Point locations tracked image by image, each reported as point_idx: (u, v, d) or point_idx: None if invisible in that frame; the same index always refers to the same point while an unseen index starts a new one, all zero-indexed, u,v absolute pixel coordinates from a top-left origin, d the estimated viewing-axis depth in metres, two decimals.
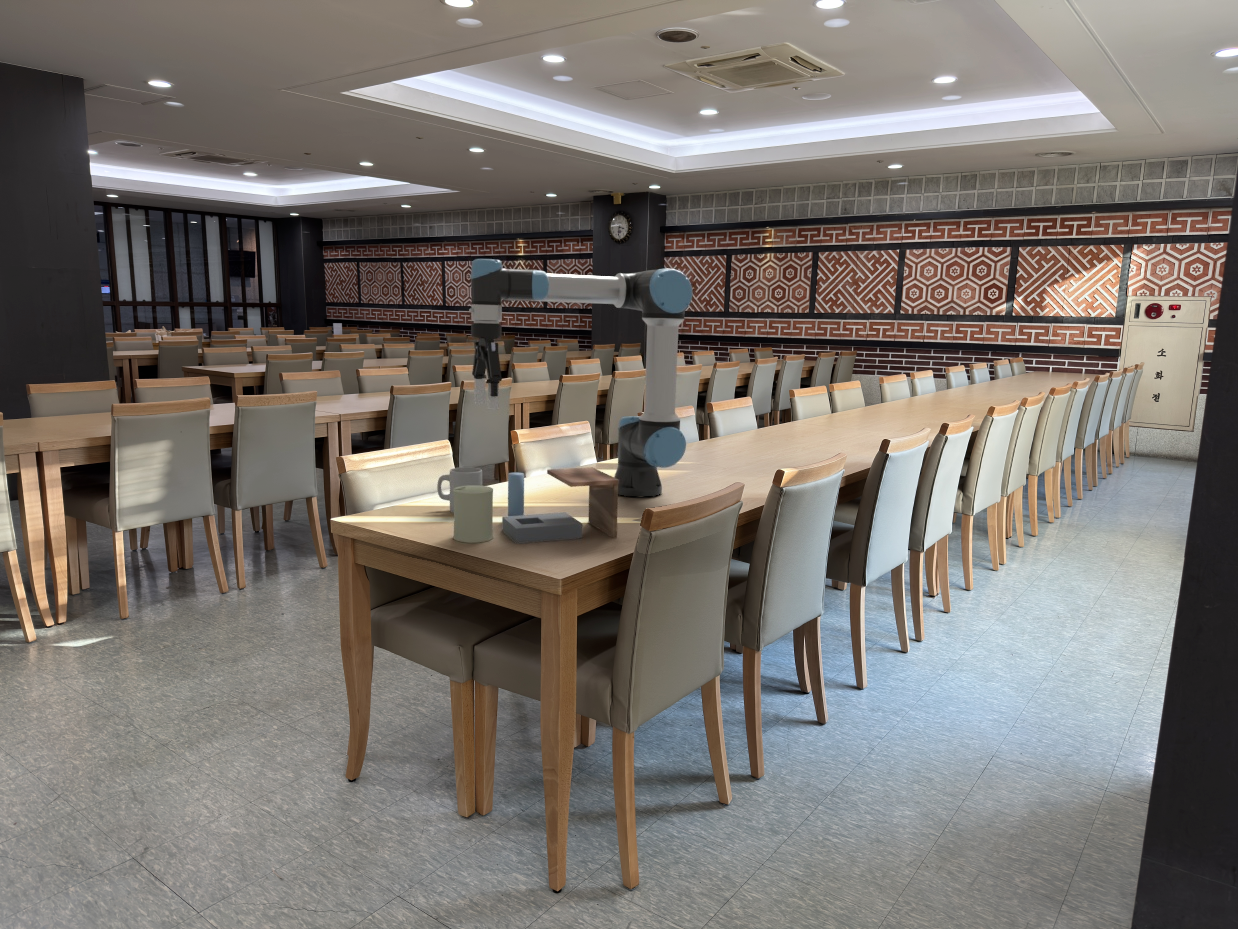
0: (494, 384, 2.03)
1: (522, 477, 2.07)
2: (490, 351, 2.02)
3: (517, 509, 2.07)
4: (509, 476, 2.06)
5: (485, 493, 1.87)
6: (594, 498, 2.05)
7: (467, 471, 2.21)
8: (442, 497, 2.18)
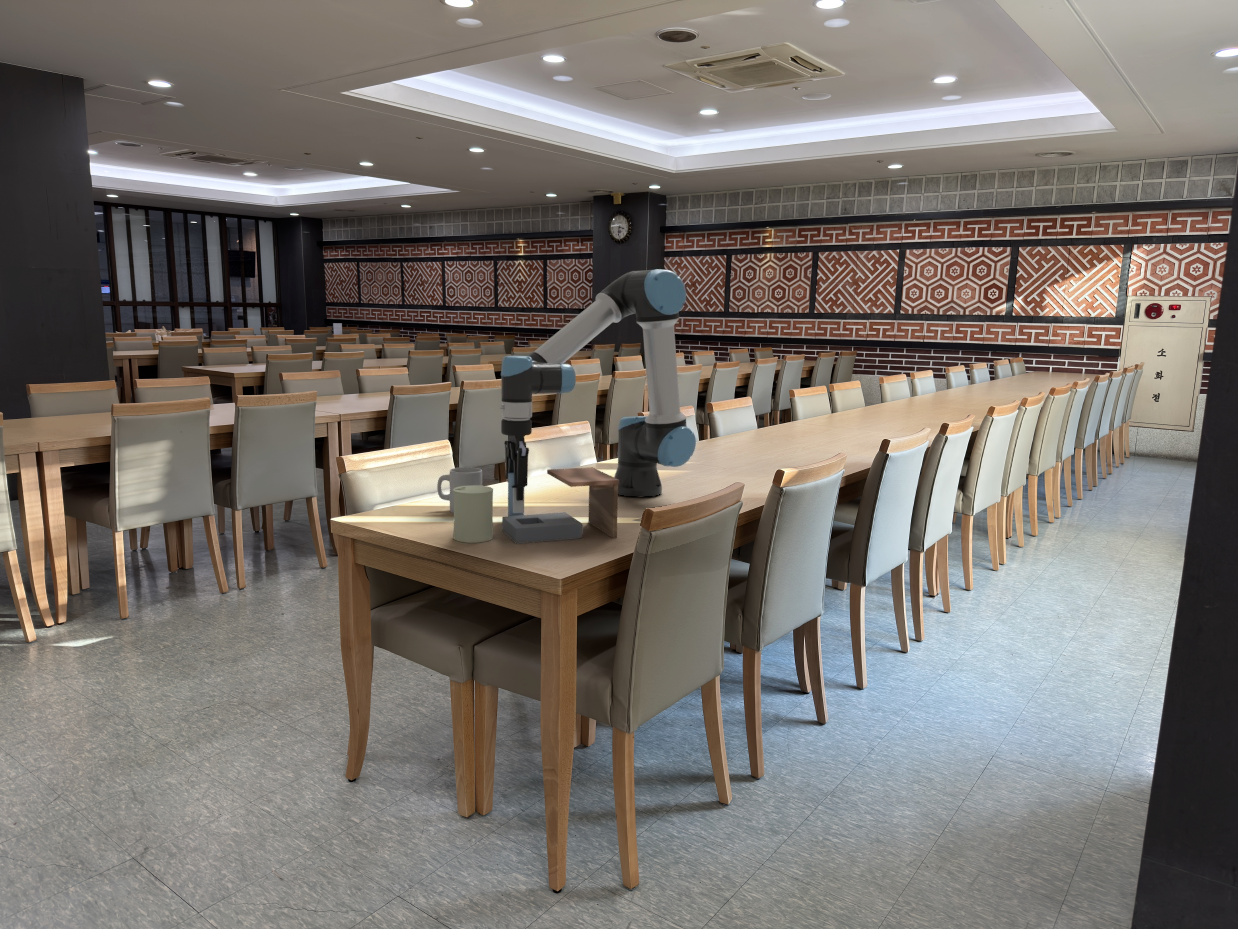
0: (520, 489, 2.05)
1: None
2: (520, 457, 2.01)
3: None
4: (509, 476, 2.06)
5: (485, 493, 1.87)
6: (594, 498, 2.05)
7: (467, 471, 2.21)
8: (442, 497, 2.18)
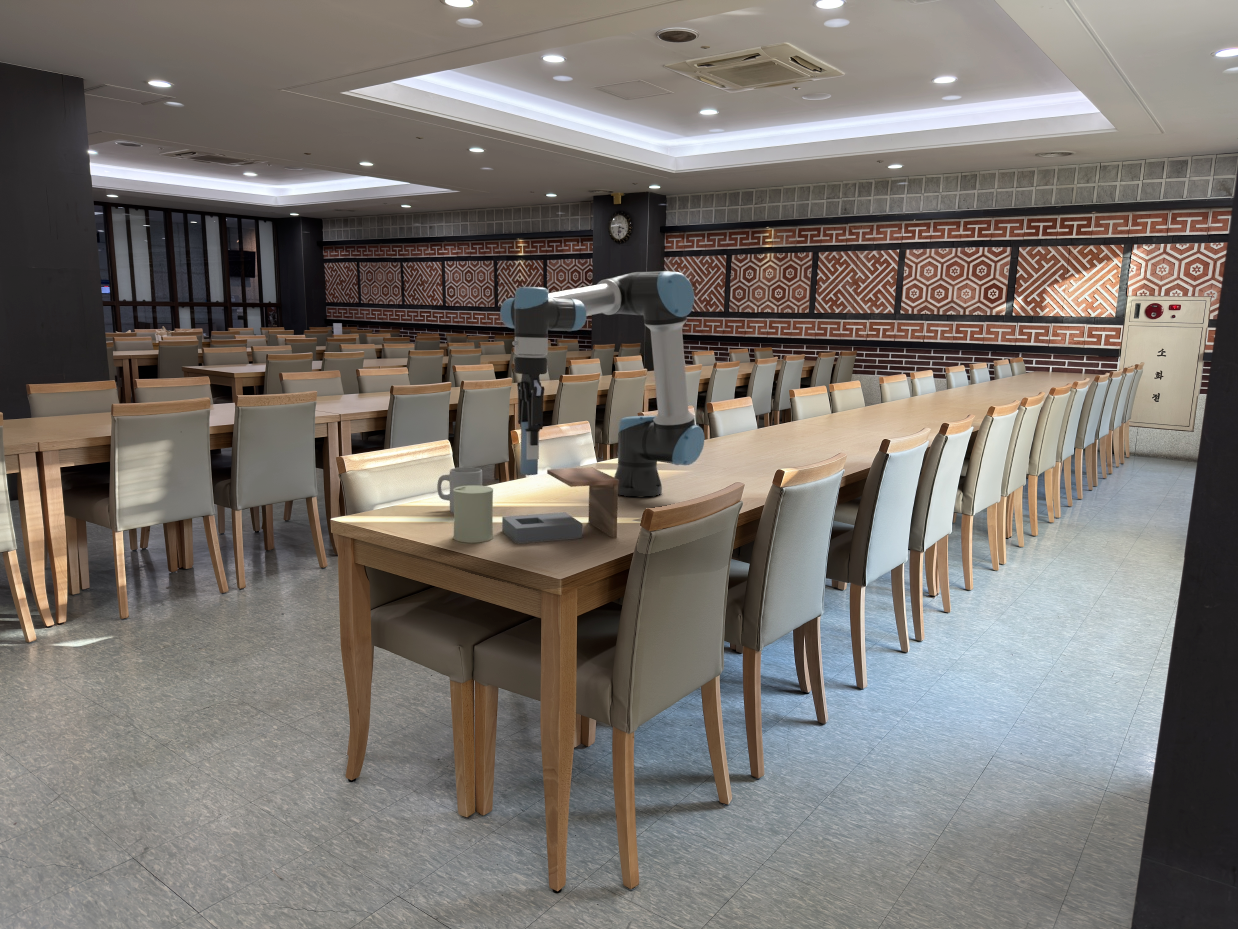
0: (534, 432, 1.88)
1: None
2: (534, 396, 1.84)
3: (530, 460, 1.91)
4: (522, 424, 1.90)
5: (485, 493, 1.87)
6: (594, 498, 2.05)
7: (467, 471, 2.21)
8: (442, 497, 2.18)
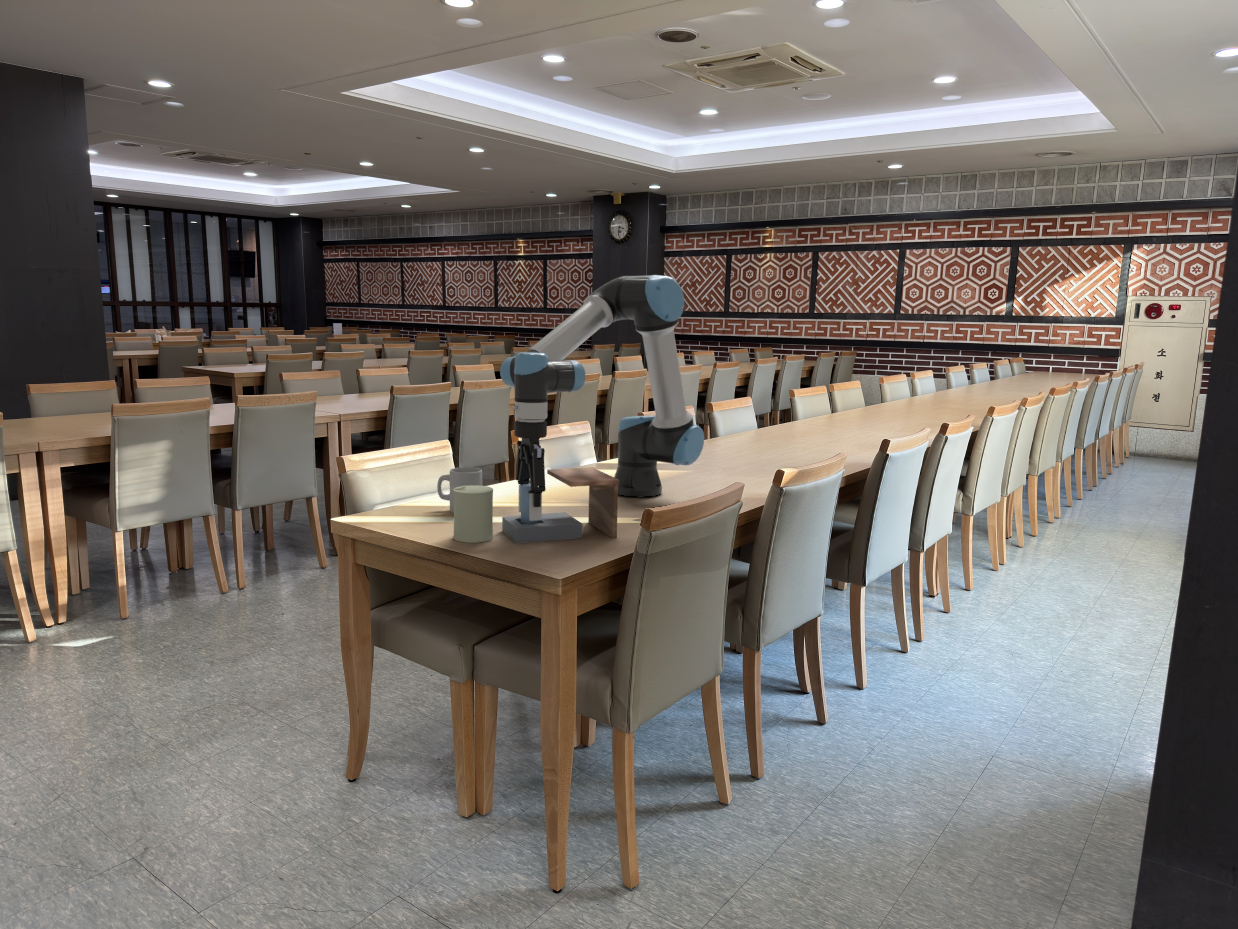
0: (537, 494, 1.88)
1: None
2: (535, 458, 1.86)
3: (531, 523, 1.93)
4: (522, 488, 1.92)
5: (485, 493, 1.87)
6: (594, 498, 2.05)
7: (467, 471, 2.21)
8: (442, 497, 2.18)
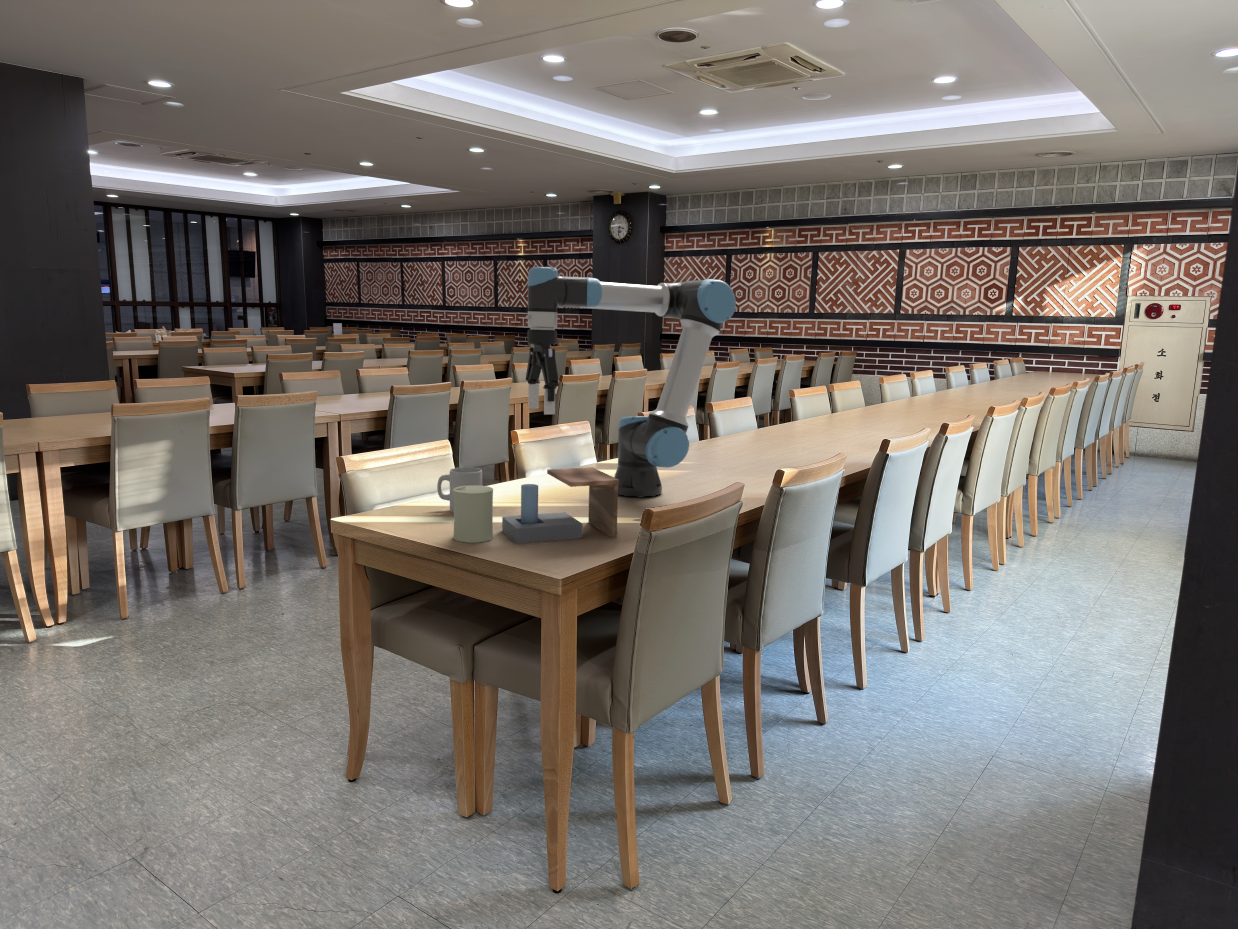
0: (551, 389, 2.07)
1: (536, 489, 1.93)
2: (547, 357, 2.07)
3: (531, 523, 1.93)
4: (522, 488, 1.92)
5: (485, 493, 1.87)
6: (594, 498, 2.05)
7: (467, 471, 2.21)
8: (442, 497, 2.18)
